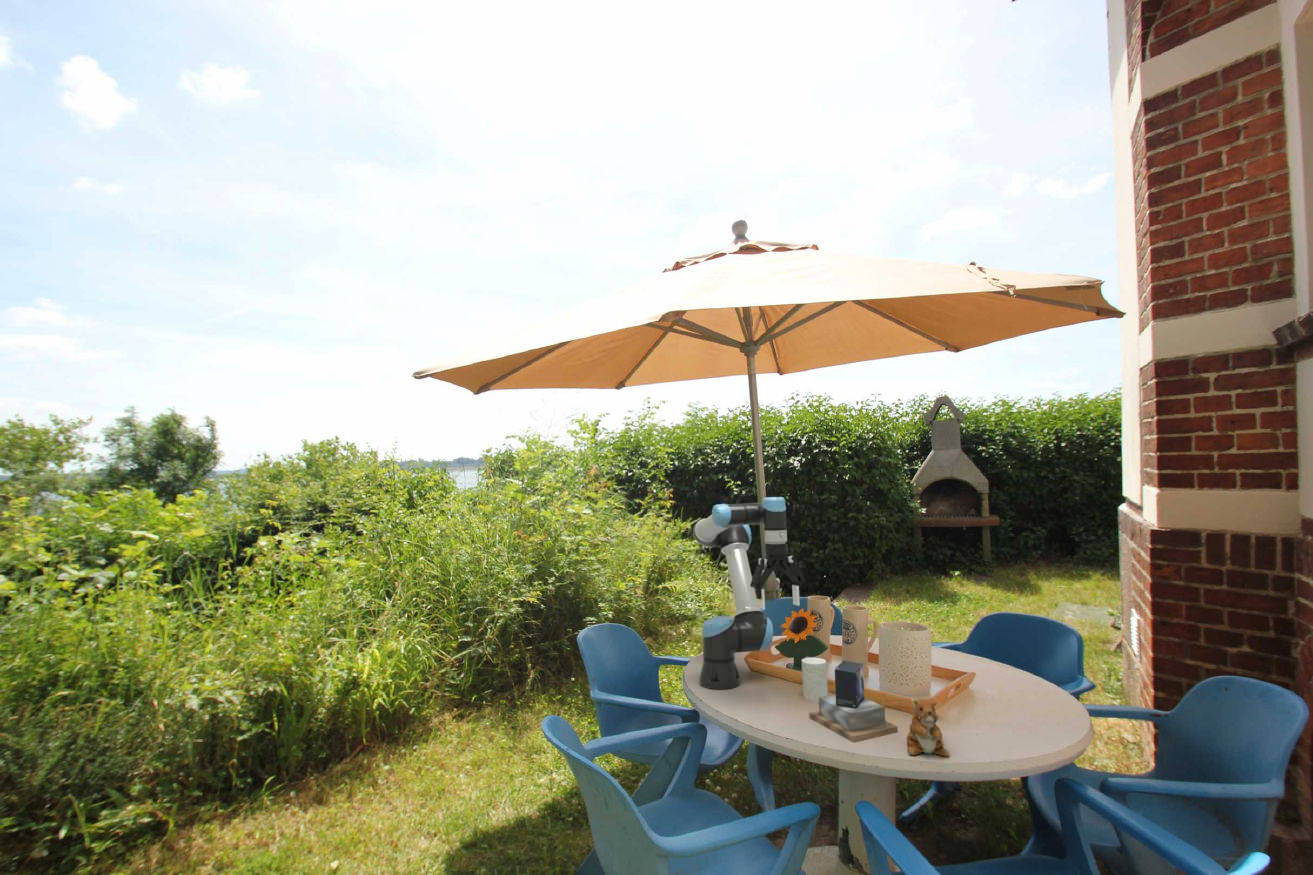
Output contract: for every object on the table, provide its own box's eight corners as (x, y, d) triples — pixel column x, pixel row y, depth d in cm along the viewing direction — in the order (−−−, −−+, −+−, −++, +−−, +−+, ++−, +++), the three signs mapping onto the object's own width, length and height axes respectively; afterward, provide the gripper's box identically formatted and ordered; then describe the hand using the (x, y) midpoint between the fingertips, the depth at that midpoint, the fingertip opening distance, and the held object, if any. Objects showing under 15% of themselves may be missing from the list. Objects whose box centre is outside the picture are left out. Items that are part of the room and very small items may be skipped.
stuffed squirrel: (909, 757, 151) (905, 704, 152) (901, 735, 164) (898, 687, 165) (951, 760, 148) (947, 707, 149) (939, 738, 162) (936, 689, 163)
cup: (800, 699, 195) (798, 662, 196) (806, 691, 202) (804, 656, 204) (825, 702, 191) (823, 665, 193) (830, 694, 198) (828, 658, 200)
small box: (858, 709, 167) (855, 671, 168) (835, 705, 171) (833, 668, 172) (866, 697, 176) (863, 662, 177) (844, 694, 180) (842, 659, 181)
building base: (809, 717, 179) (808, 695, 180) (850, 708, 185) (849, 687, 186) (853, 741, 161) (851, 717, 161) (897, 731, 167) (896, 708, 167)
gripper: (749, 545, 187) (753, 612, 185) (813, 541, 196) (817, 604, 194) (738, 544, 194) (741, 608, 192) (800, 539, 203) (803, 601, 201)
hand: (779, 607), depth 193 cm, fingers open, 13 cm apart
